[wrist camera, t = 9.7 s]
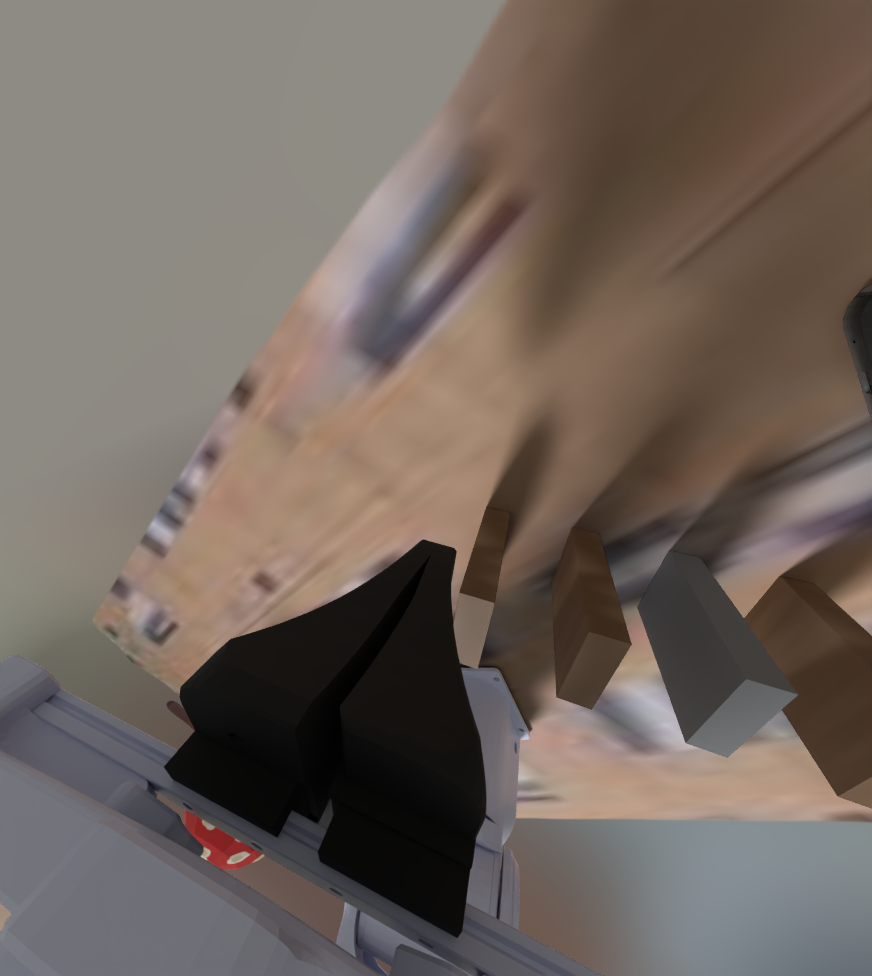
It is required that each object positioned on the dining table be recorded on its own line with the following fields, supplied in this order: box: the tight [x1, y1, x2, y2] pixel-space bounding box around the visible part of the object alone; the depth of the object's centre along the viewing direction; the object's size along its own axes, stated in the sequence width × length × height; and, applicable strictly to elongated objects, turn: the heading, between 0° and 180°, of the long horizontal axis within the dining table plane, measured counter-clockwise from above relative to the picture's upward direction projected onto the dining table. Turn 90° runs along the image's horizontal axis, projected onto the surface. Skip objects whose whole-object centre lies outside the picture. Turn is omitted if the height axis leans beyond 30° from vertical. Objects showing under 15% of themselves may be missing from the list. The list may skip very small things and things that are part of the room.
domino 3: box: [638, 550, 798, 758], centre depth 16 cm, size 2×5×8 cm, turn 175°
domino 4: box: [744, 576, 872, 808], centre depth 15 cm, size 2×5×8 cm, turn 175°
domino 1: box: [453, 507, 510, 669], centre depth 18 cm, size 2×5×8 cm, turn 175°
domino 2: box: [552, 527, 632, 710], centre depth 17 cm, size 2×5×8 cm, turn 174°
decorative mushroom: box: [184, 810, 265, 870], centre depth 33 cm, size 14×14×15 cm
